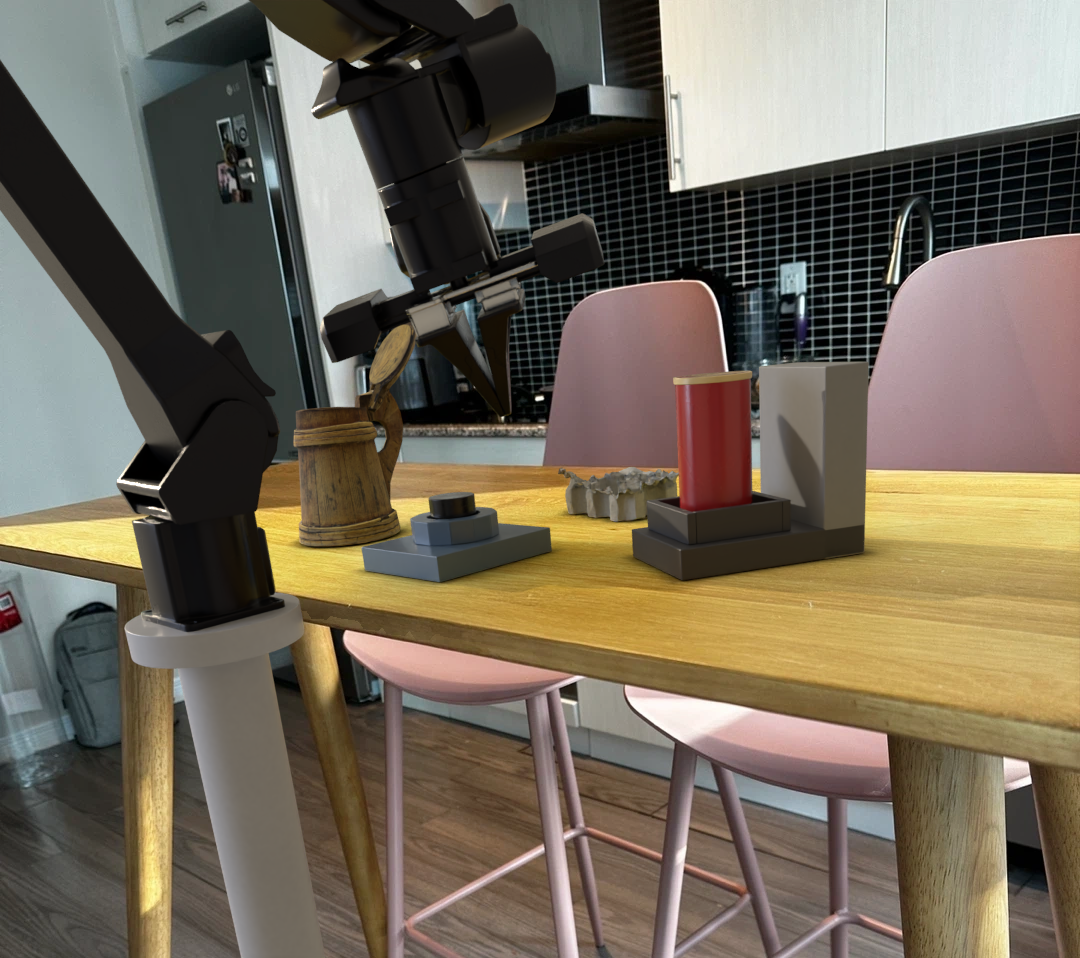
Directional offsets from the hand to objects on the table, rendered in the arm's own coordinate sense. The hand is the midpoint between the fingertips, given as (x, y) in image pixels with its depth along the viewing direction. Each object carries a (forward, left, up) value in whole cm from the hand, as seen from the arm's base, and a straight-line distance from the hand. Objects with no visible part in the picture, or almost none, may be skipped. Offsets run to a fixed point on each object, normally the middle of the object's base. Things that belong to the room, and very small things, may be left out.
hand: (506, 414), depth 71 cm
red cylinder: (+6, -13, -8) cm, 17 cm away
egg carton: (+19, +7, -11) cm, 23 cm away
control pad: (-2, +5, -10) cm, 12 cm away
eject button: (-2, +5, -7) cm, 9 cm away
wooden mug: (+3, +23, -11) cm, 26 cm away
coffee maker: (+8, -14, -10) cm, 19 cm away
